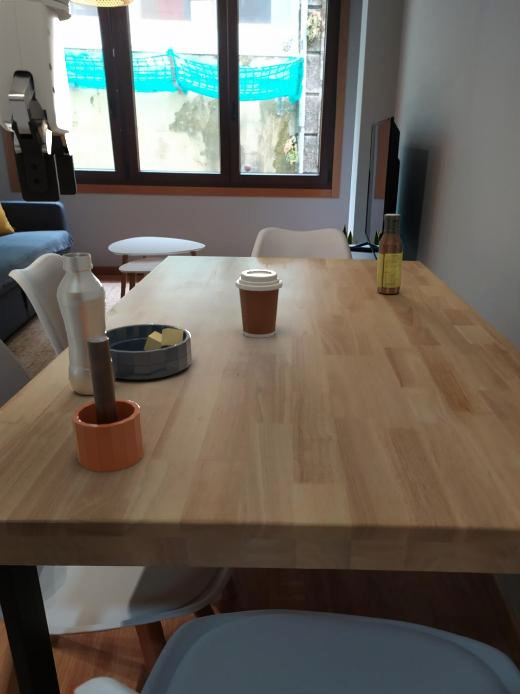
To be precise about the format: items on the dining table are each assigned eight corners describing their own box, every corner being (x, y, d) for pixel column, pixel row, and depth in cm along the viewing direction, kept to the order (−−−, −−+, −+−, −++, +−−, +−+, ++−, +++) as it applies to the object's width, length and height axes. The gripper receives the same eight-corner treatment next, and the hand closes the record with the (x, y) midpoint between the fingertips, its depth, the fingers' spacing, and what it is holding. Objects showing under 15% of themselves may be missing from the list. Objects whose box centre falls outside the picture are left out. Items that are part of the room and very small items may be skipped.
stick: (100, 460, 61) (85, 342, 56) (102, 451, 63) (88, 336, 58) (120, 458, 62) (107, 342, 56) (122, 449, 64) (109, 335, 58)
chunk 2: (183, 330, 91) (178, 331, 93) (167, 328, 89) (162, 329, 92) (182, 346, 91) (176, 347, 93) (165, 345, 89) (160, 346, 92)
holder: (74, 478, 59) (66, 429, 57) (84, 446, 65) (77, 400, 63) (142, 472, 60) (138, 424, 58) (145, 441, 67) (141, 396, 64)
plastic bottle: (124, 384, 83) (110, 251, 75) (104, 402, 77) (87, 260, 69) (85, 381, 84) (67, 250, 76) (62, 399, 78) (40, 258, 70)
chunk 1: (148, 335, 92) (155, 330, 94) (143, 349, 93) (150, 344, 96) (162, 343, 92) (169, 337, 94) (158, 356, 93) (164, 351, 96)
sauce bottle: (404, 292, 144) (412, 214, 136) (391, 296, 140) (398, 216, 132) (383, 288, 148) (390, 212, 141) (370, 292, 144) (376, 214, 136)
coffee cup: (249, 342, 103) (248, 279, 98) (228, 329, 110) (227, 270, 106) (290, 335, 107) (291, 275, 103) (268, 324, 115) (268, 267, 110)
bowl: (92, 385, 82) (88, 354, 81) (103, 352, 96) (100, 325, 94) (193, 379, 85) (191, 349, 83) (190, 348, 99) (188, 322, 97)
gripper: (4, 13, 55) (32, 192, 61) (-62, -44, 39) (-15, 204, 46) (82, 18, 56) (101, 192, 63) (49, -35, 41) (78, 205, 47)
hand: (52, 197), depth 54 cm, fingers open, 9 cm apart
